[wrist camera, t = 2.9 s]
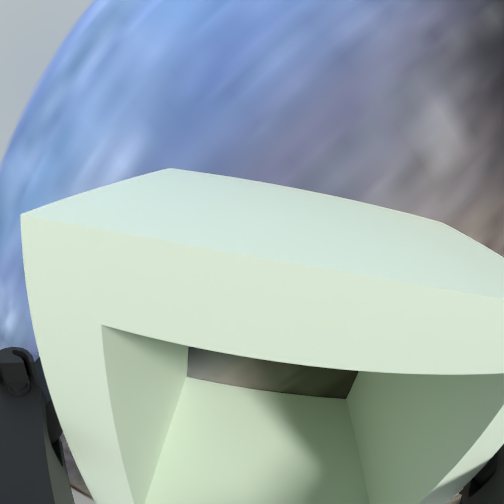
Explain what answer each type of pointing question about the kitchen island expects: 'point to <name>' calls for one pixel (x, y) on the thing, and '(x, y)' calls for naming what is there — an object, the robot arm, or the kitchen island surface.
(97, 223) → the square ring
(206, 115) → the kitchen island surface
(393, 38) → the kitchen island surface
